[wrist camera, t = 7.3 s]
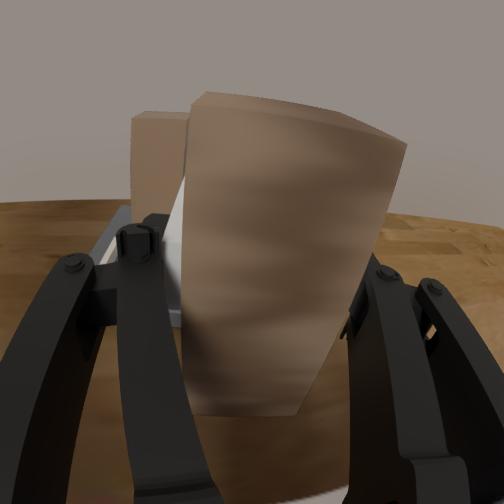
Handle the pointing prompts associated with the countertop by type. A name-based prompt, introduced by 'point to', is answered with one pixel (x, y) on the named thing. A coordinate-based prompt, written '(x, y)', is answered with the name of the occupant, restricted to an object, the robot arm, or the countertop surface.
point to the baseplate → (150, 178)
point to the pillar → (273, 245)
